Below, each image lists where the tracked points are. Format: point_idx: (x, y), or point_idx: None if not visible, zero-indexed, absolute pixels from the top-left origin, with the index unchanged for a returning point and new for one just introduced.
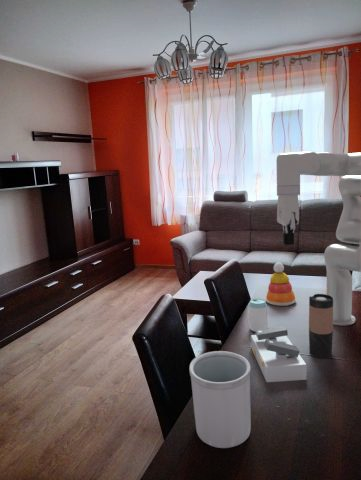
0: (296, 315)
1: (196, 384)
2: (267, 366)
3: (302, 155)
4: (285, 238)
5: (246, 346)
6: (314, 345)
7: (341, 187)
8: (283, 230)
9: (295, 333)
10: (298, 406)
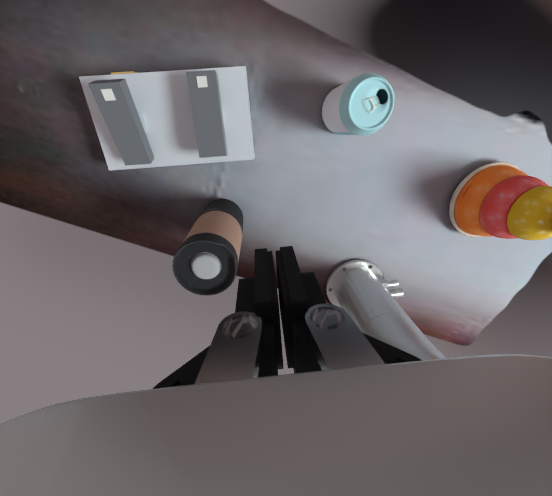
0: (394, 216)
1: None
2: (82, 80)
3: None
4: (255, 280)
5: (255, 61)
6: (205, 209)
7: None
8: (342, 319)
9: (308, 192)
10: (32, 129)
